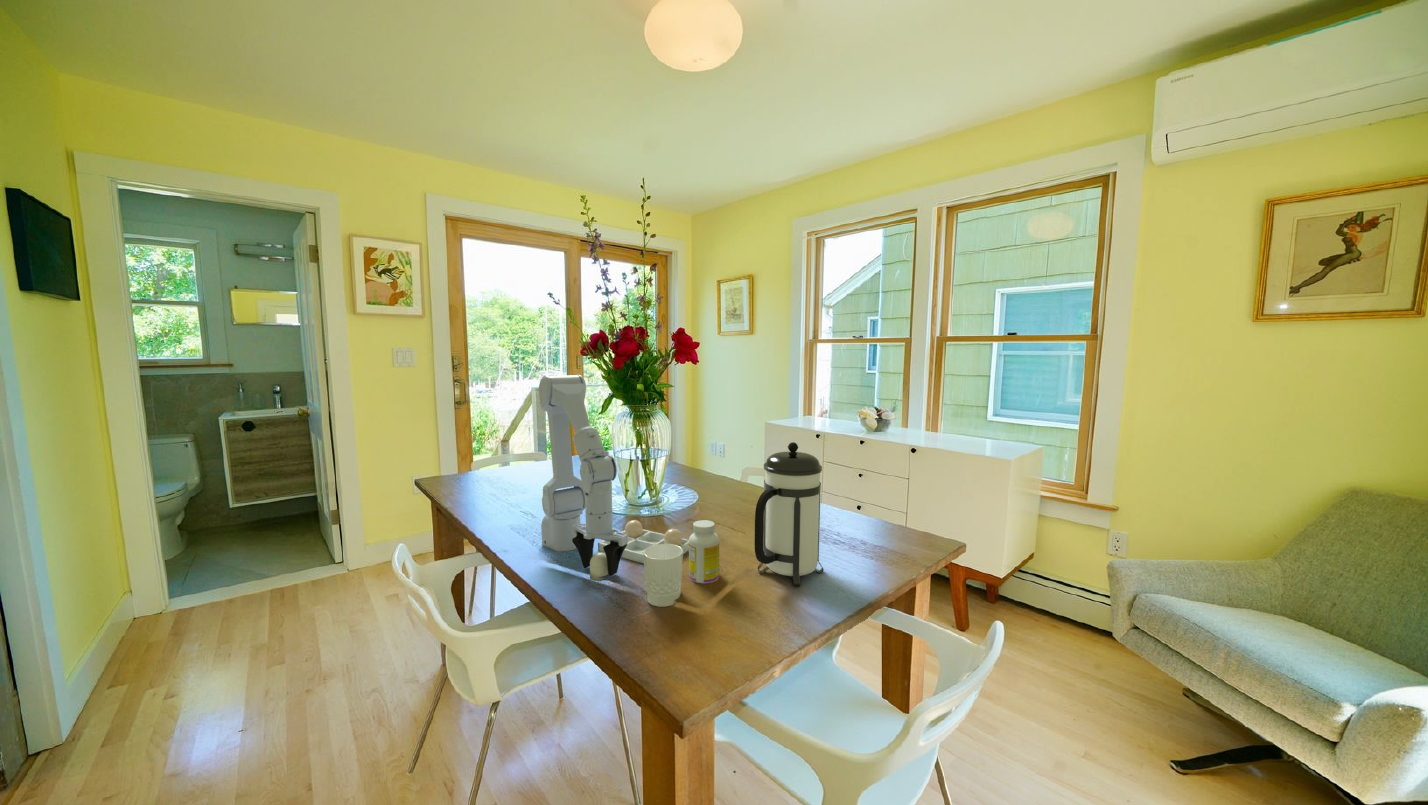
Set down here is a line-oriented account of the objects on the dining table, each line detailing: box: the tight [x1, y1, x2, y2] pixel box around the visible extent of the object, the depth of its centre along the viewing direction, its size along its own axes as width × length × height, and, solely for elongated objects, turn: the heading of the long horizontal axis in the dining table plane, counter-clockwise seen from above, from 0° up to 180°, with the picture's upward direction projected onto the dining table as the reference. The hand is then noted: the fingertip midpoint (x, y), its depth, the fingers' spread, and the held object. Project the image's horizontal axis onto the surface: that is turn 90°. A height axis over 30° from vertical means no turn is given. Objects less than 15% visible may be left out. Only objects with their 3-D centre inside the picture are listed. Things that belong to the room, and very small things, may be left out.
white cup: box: [643, 544, 684, 608], centre depth 97 cm, size 8×8×10 cm
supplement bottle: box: [688, 519, 720, 584], centre depth 105 cm, size 7×7×13 cm
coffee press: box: [754, 441, 824, 588], centre depth 108 cm, size 17×16×30 cm
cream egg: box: [589, 551, 609, 582], centre depth 107 cm, size 4×4×5 cm
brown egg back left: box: [624, 519, 643, 539], centre depth 126 cm, size 4×4×5 cm
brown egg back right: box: [664, 528, 683, 547], centre depth 119 cm, size 4×4×5 cm
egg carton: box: [597, 528, 689, 564], centre depth 120 cm, size 19×13×3 cm
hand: (600, 570), depth 108 cm, fingers open, 7 cm apart
